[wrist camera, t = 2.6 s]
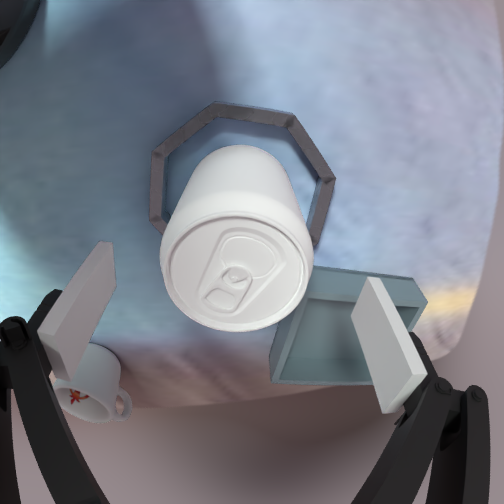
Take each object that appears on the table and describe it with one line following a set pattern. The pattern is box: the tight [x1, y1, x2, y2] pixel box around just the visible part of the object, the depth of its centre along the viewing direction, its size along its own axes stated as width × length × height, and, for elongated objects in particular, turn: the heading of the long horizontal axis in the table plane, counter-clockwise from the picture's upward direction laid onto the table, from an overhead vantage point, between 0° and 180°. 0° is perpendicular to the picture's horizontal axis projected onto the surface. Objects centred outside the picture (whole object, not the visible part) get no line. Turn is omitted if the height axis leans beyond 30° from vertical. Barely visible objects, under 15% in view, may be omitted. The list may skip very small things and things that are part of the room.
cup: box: [53, 343, 132, 423], centre depth 34 cm, size 11×8×8 cm
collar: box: [149, 101, 336, 246], centre depth 25 cm, size 14×14×2 cm
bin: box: [269, 266, 428, 385], centre depth 32 cm, size 13×13×4 cm
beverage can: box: [160, 145, 314, 332], centre depth 21 cm, size 8×8×12 cm
